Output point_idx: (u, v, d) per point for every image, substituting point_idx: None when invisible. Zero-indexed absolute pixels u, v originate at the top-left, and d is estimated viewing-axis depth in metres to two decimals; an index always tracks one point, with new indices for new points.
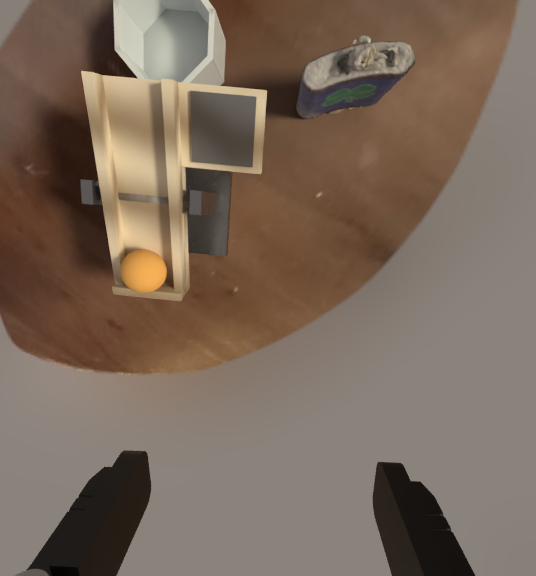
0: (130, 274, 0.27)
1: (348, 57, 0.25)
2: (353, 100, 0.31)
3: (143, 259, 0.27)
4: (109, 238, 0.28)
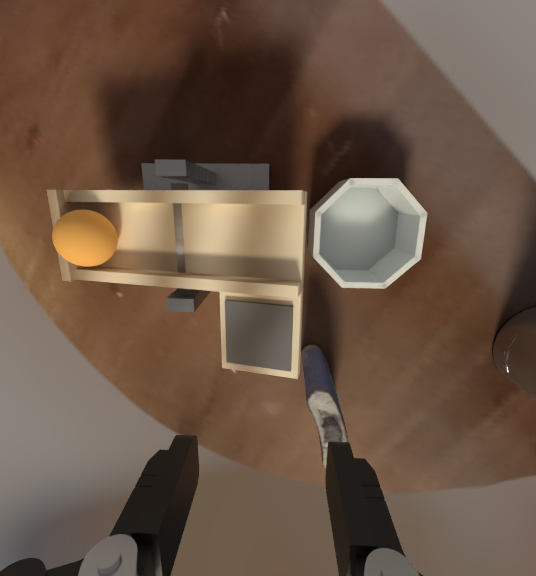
0: (68, 236, 0.20)
1: (336, 424, 0.27)
2: None
3: (96, 248, 0.21)
4: (118, 192, 0.21)
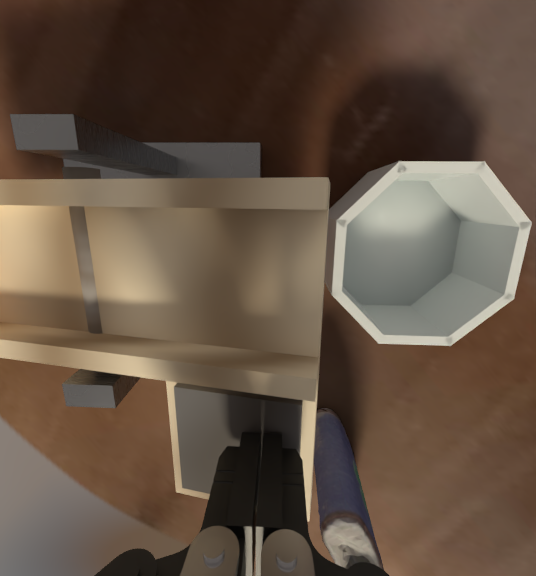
0: None
1: None
2: None
3: None
4: None
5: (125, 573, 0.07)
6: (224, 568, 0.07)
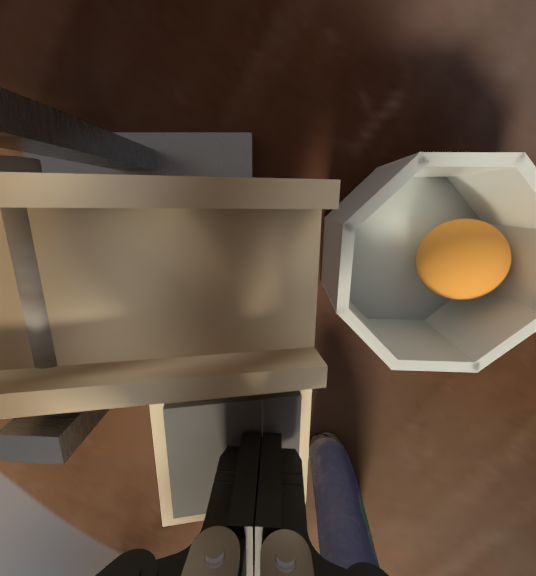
0: (494, 260, 0.13)
1: None
2: None
3: None
4: None
5: (126, 573, 0.07)
6: (225, 568, 0.07)
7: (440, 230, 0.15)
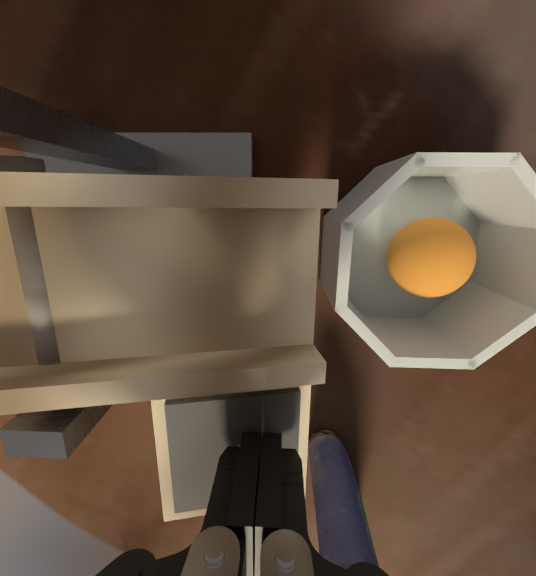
0: (425, 256, 0.14)
1: None
2: None
3: (456, 277, 0.14)
4: None
5: (126, 573, 0.07)
6: (225, 568, 0.07)
7: (403, 227, 0.16)
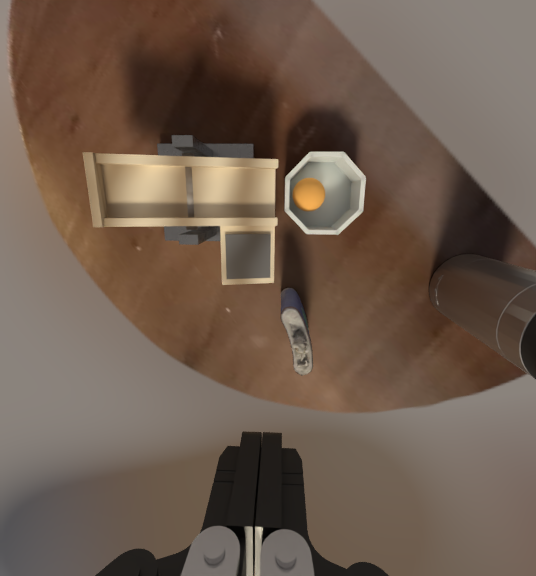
0: None
1: (302, 335, 0.37)
2: None
3: (297, 199, 0.37)
4: (148, 156, 0.29)
5: (126, 573, 0.07)
6: (225, 568, 0.07)
7: None
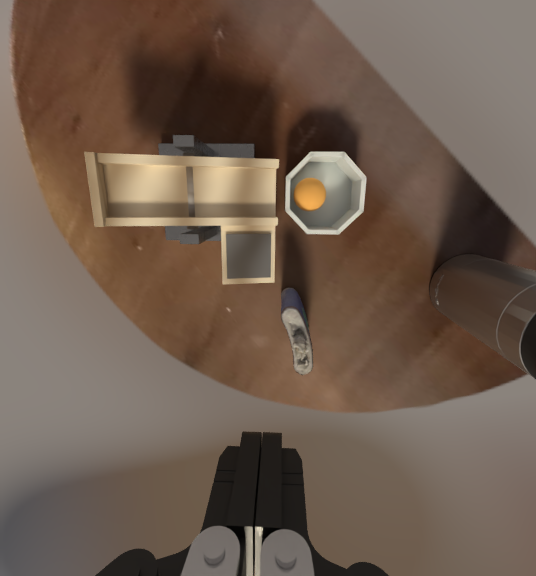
0: None
1: (303, 335, 0.37)
2: None
3: (299, 199, 0.37)
4: (149, 156, 0.29)
5: (126, 573, 0.07)
6: (225, 568, 0.07)
7: None
